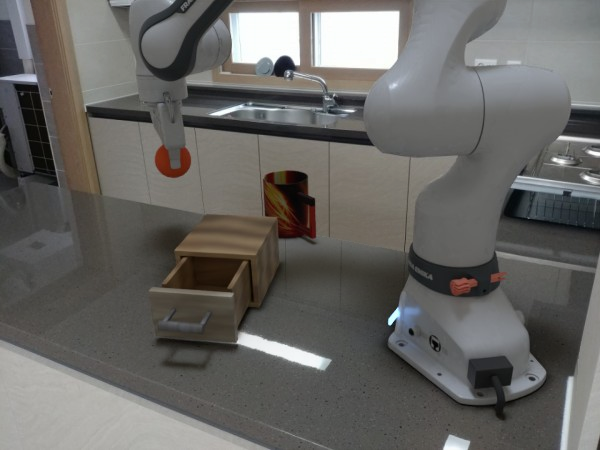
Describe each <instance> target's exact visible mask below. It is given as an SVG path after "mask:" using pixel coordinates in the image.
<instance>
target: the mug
mask: <svg viewBox="0 0 600 450" xmlns="http://www.w3.org/2000/svg"><path fill="white" fill-rule="evenodd" d="M262 189H263V206H264V217H277V220H278V221H277V222H278V239H291V238H293V239H294V238H298V237H302V236H306V237H307V238H309V239H311V240H314V239H317V219H316V218H317V217H316V198H315V197H313V196H311V195H309V175H308V174H307V173H306V172H303V171H299V170H293V169H291V170H290V169H283V170H282V169H281V170H275V171H271V172H268V173H266V174H264V175H263V177H262Z"/></svg>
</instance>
